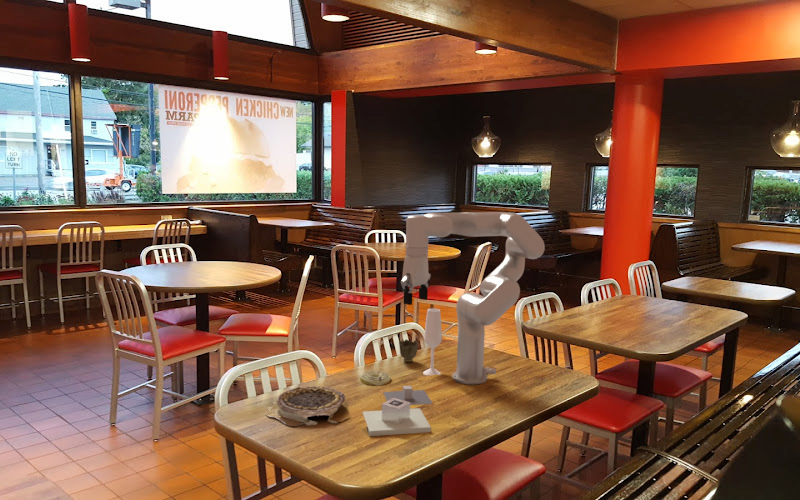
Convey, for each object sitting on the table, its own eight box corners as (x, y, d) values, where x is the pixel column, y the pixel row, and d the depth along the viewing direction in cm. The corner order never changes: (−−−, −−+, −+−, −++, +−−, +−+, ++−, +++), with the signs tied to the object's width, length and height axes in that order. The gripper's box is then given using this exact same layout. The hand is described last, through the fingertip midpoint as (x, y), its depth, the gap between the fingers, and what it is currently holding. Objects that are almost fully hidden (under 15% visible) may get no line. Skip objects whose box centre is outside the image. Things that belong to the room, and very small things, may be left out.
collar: (393, 413, 186) (393, 397, 186) (409, 418, 183) (410, 402, 182) (381, 420, 181) (382, 403, 181) (398, 425, 178) (398, 408, 177)
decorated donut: (382, 392, 208) (382, 381, 208) (354, 386, 213) (354, 376, 212) (395, 382, 217) (395, 372, 217) (369, 377, 222) (369, 367, 222)
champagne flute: (419, 371, 229) (421, 308, 226) (435, 369, 232) (437, 307, 229) (428, 377, 223) (429, 312, 220) (444, 374, 226) (446, 311, 223)
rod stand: (423, 394, 207) (424, 379, 206) (432, 408, 195) (433, 393, 194) (382, 396, 204) (383, 381, 203) (389, 410, 192) (389, 395, 191)
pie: (250, 408, 193) (250, 392, 192) (320, 388, 212) (320, 374, 211) (301, 437, 173) (302, 421, 172) (374, 413, 192) (374, 398, 191)
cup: (395, 362, 238) (395, 342, 237) (404, 357, 245) (404, 338, 244) (412, 366, 235) (412, 345, 234) (420, 360, 242) (421, 341, 240)
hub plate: (419, 412, 191) (420, 392, 190) (430, 432, 178) (431, 410, 177) (362, 416, 187) (362, 395, 187) (369, 436, 174) (369, 414, 173)
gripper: (420, 248, 216) (419, 296, 218) (393, 253, 201) (392, 304, 204) (439, 250, 211) (437, 298, 214) (412, 256, 197) (411, 308, 200)
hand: (415, 301), depth 209 cm, fingers open, 9 cm apart
